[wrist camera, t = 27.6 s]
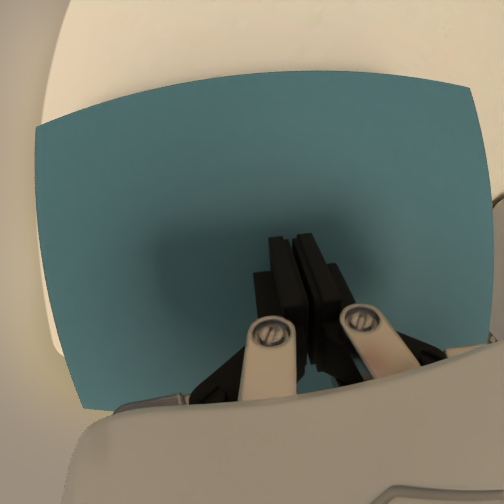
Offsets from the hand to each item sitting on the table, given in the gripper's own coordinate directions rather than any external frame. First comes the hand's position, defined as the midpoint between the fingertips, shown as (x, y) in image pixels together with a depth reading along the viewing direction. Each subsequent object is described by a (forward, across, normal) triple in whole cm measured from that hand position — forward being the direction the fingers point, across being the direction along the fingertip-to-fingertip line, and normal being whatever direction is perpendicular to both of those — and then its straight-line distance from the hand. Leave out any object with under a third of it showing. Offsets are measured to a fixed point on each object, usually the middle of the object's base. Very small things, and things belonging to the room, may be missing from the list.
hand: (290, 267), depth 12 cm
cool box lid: (+2, 0, 0) cm, 2 cm away
